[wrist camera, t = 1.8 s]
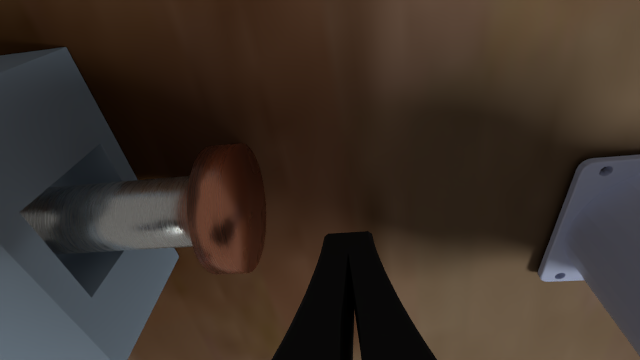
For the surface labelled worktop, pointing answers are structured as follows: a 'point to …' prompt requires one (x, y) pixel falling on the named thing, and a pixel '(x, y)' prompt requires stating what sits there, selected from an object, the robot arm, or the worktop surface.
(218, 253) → the pin
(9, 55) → the block
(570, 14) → the worktop surface
